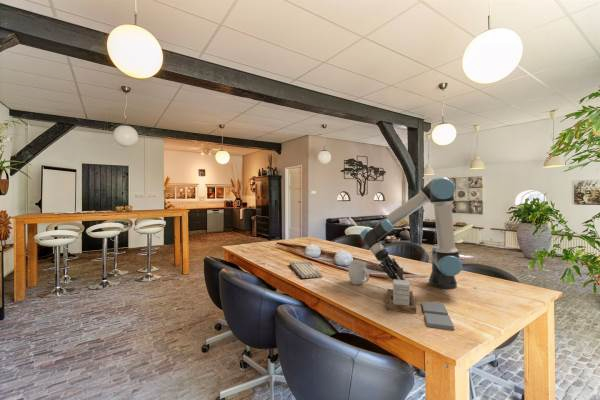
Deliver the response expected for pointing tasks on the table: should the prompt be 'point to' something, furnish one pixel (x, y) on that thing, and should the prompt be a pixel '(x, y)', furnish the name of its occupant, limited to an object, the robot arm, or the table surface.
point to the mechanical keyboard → (304, 270)
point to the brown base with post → (401, 307)
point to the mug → (357, 272)
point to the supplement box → (401, 292)
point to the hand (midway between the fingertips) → (406, 287)
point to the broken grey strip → (437, 315)
